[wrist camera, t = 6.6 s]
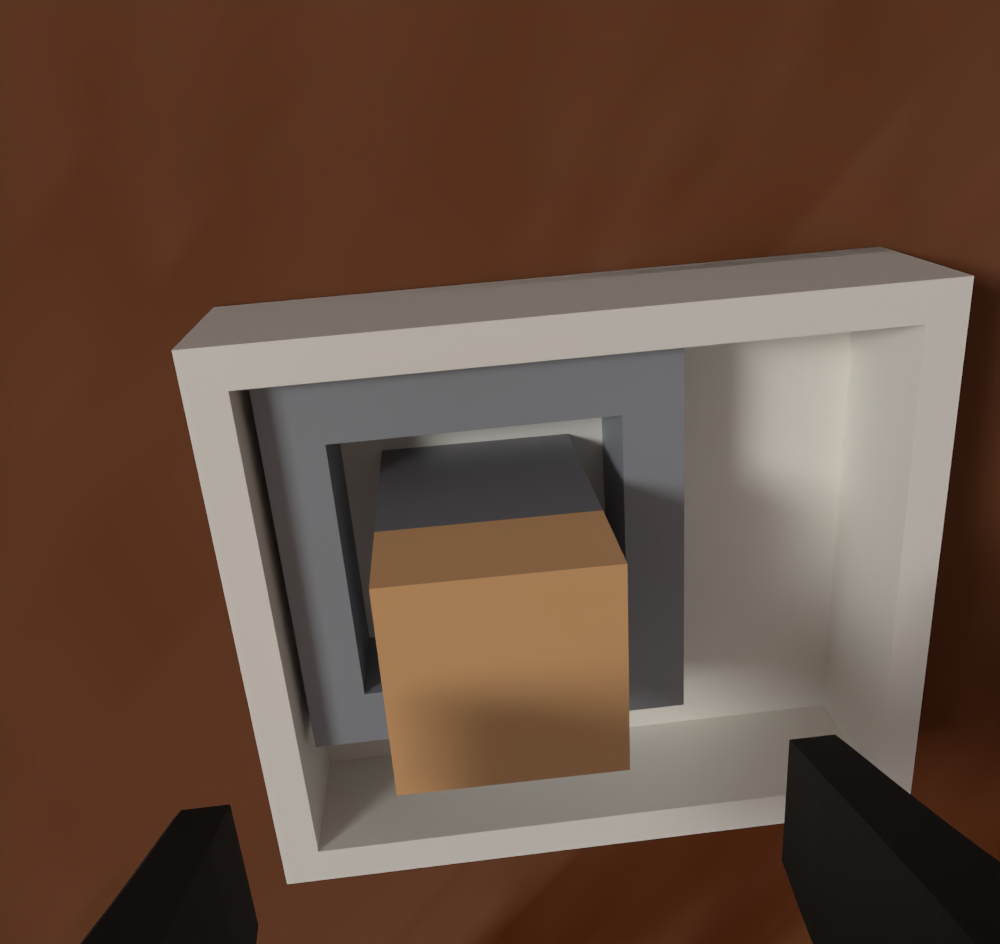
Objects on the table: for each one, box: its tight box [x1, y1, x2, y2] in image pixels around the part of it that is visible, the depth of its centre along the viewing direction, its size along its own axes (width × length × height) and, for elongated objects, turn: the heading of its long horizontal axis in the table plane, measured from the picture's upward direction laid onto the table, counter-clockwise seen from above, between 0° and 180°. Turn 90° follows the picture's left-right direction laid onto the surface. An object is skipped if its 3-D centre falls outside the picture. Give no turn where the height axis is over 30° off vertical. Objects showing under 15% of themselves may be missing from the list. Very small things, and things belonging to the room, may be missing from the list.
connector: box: [369, 434, 630, 796], centre depth 18 cm, size 4×4×6 cm
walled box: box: [172, 247, 974, 884], centre depth 20 cm, size 14×12×4 cm
